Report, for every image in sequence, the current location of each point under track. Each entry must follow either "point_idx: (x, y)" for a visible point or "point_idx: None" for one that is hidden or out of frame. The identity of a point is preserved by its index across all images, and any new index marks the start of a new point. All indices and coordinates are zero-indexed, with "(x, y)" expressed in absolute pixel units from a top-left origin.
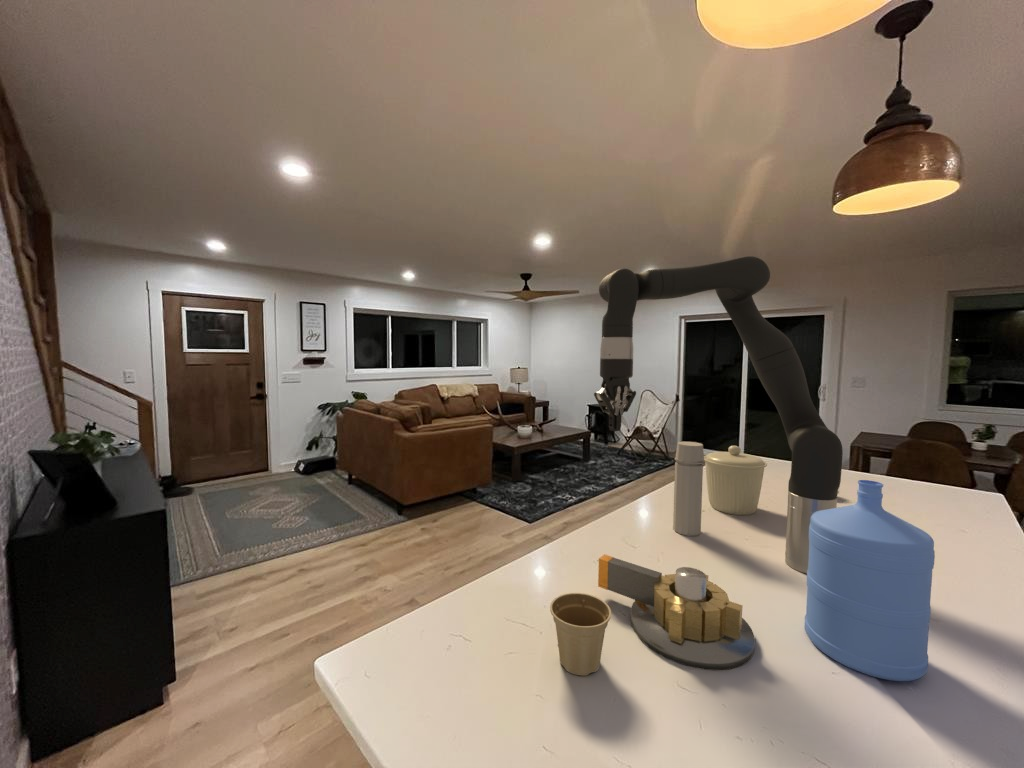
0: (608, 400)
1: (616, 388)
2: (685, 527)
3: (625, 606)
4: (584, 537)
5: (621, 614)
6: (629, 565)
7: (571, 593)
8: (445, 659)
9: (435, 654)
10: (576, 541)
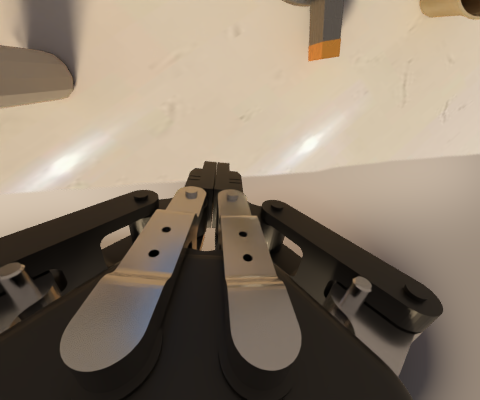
0: (333, 253)
1: (297, 340)
2: (59, 68)
3: None
4: None
5: None
6: (333, 2)
7: (463, 9)
8: (477, 96)
9: (474, 107)
10: None
